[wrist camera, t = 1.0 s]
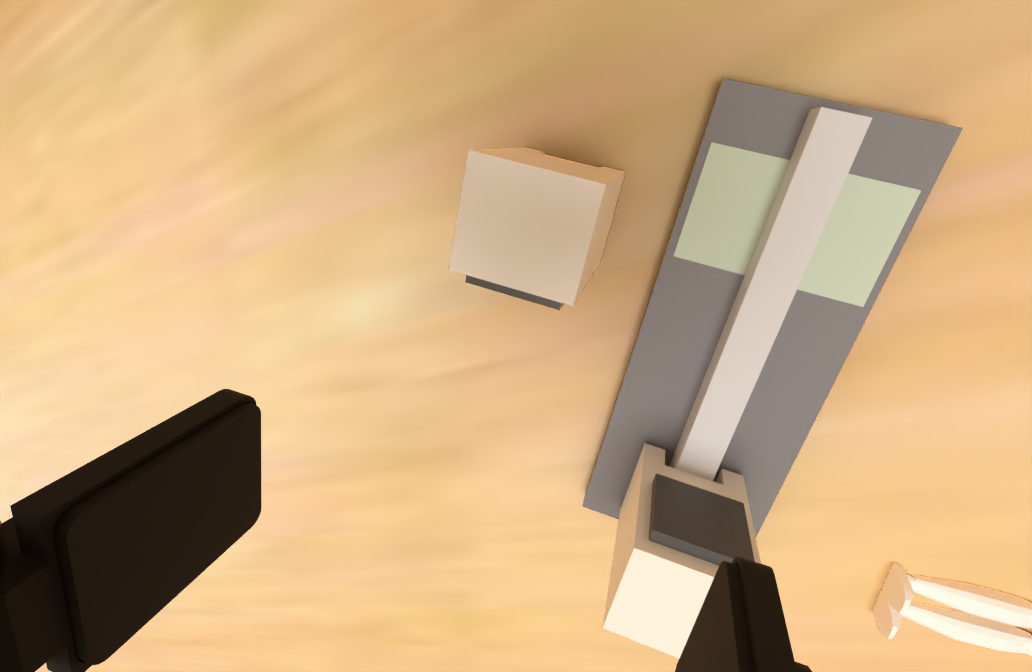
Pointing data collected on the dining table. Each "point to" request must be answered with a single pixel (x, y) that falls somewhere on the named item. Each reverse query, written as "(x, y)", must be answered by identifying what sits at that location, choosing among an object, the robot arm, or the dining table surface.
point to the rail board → (712, 294)
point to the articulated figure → (955, 611)
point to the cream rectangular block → (532, 223)
